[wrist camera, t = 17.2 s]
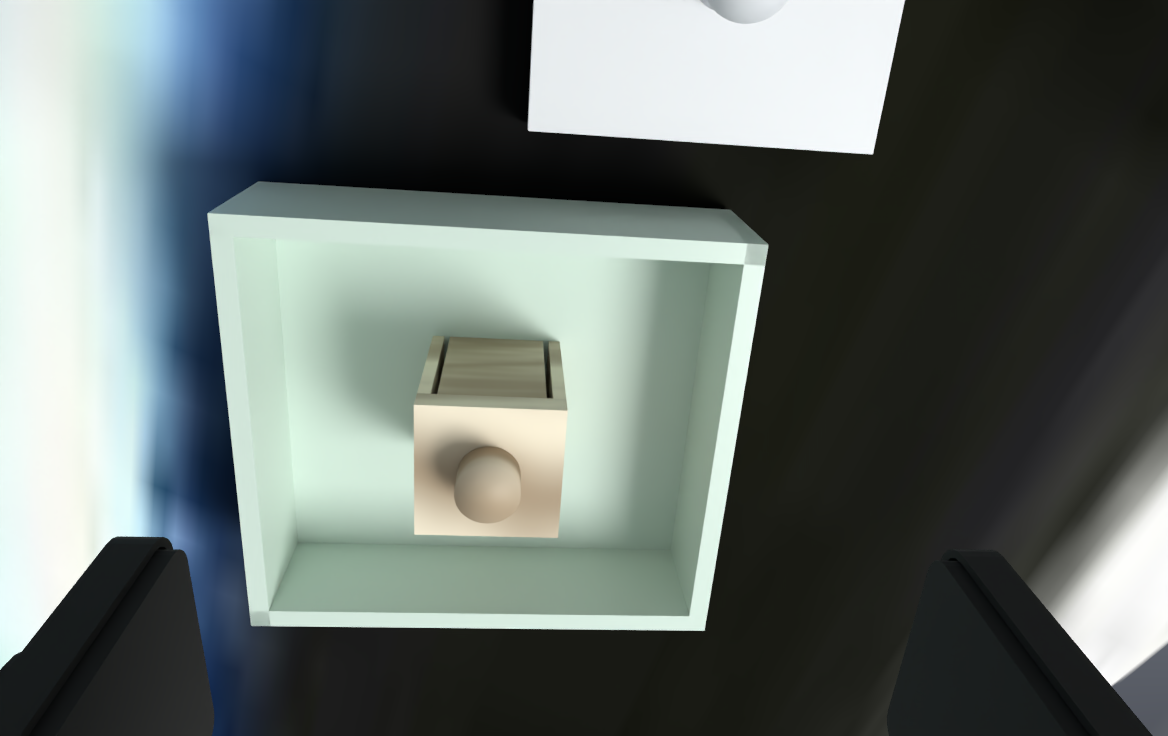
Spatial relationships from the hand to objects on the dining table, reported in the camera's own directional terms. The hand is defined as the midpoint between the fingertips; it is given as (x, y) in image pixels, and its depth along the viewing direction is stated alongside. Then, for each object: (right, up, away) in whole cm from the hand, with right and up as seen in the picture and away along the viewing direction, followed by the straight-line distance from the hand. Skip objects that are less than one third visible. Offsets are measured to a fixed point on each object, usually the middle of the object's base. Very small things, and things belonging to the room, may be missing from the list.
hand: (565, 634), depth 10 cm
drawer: (-4, +2, +27) cm, 27 cm away
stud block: (+5, +19, +22) cm, 29 cm away
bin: (-4, +2, +28) cm, 28 cm away
